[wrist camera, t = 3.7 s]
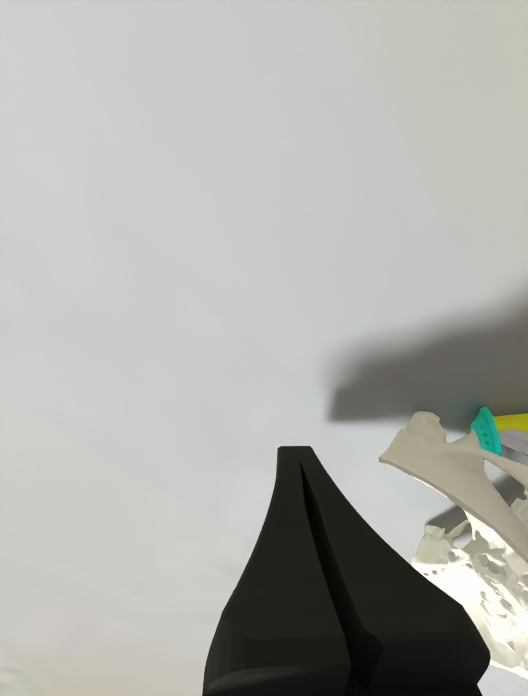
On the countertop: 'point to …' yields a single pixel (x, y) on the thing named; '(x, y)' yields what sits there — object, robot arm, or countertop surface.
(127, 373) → the countertop surface
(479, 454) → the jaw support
